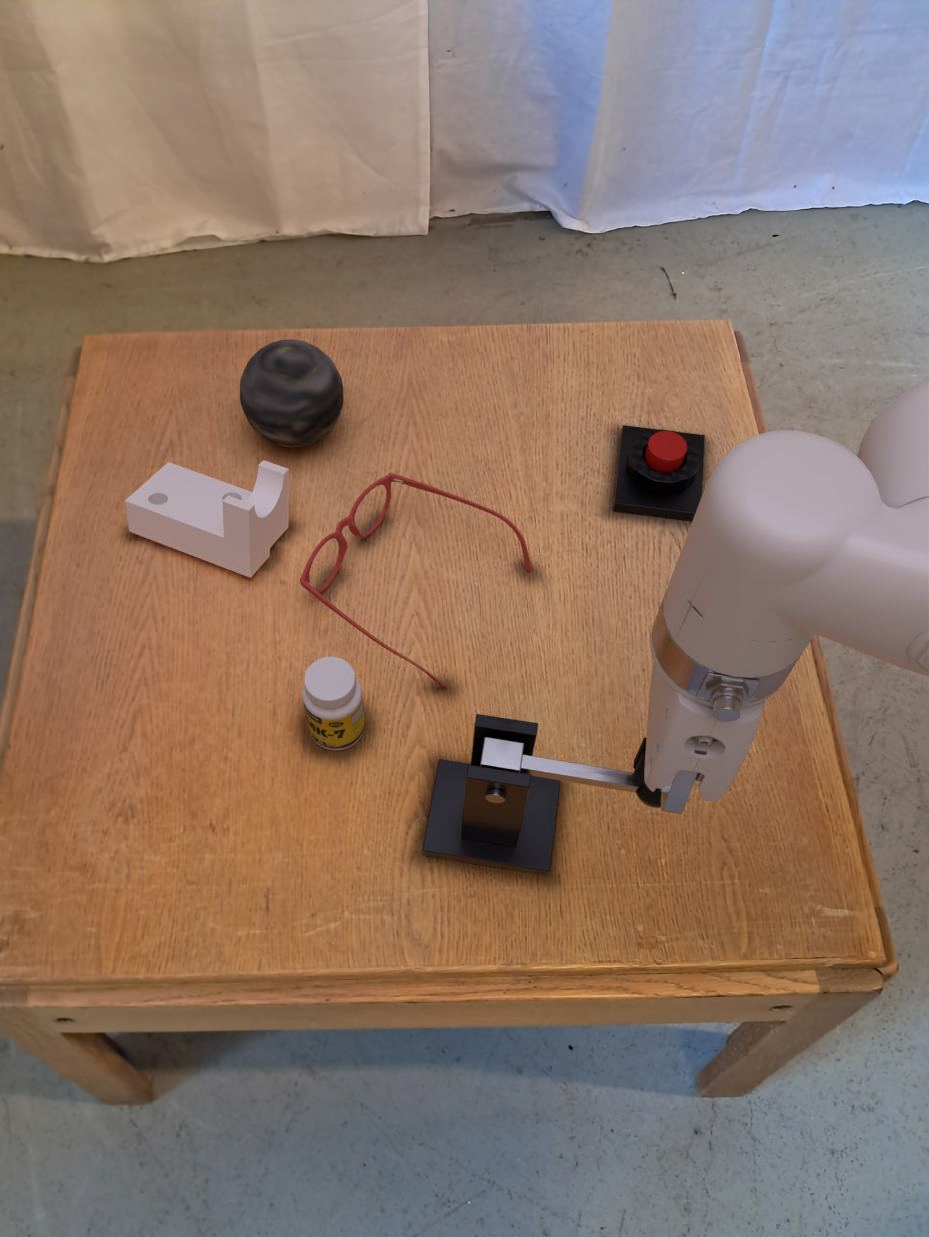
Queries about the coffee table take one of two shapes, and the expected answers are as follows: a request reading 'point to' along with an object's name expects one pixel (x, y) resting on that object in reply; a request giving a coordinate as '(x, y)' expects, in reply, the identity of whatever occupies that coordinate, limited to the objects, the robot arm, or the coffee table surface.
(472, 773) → the bracket
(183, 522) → the bracket
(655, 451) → the button
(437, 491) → the red eyeglasses
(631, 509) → the control block
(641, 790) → the lever
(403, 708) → the coffee table surface
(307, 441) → the decorative stone
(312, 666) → the supplement bottle
